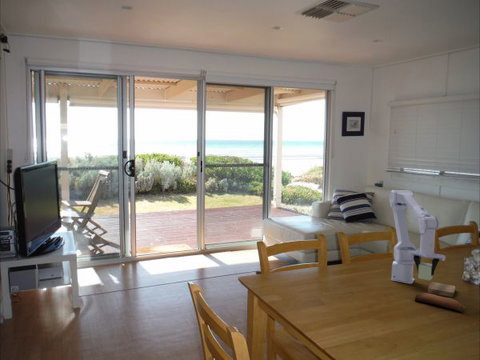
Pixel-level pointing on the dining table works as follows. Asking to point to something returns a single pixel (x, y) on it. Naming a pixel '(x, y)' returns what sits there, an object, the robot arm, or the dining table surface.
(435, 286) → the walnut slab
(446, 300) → the sunglasses case
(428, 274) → the green block
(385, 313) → the dining table surface
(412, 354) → the dining table surface
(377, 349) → the dining table surface
